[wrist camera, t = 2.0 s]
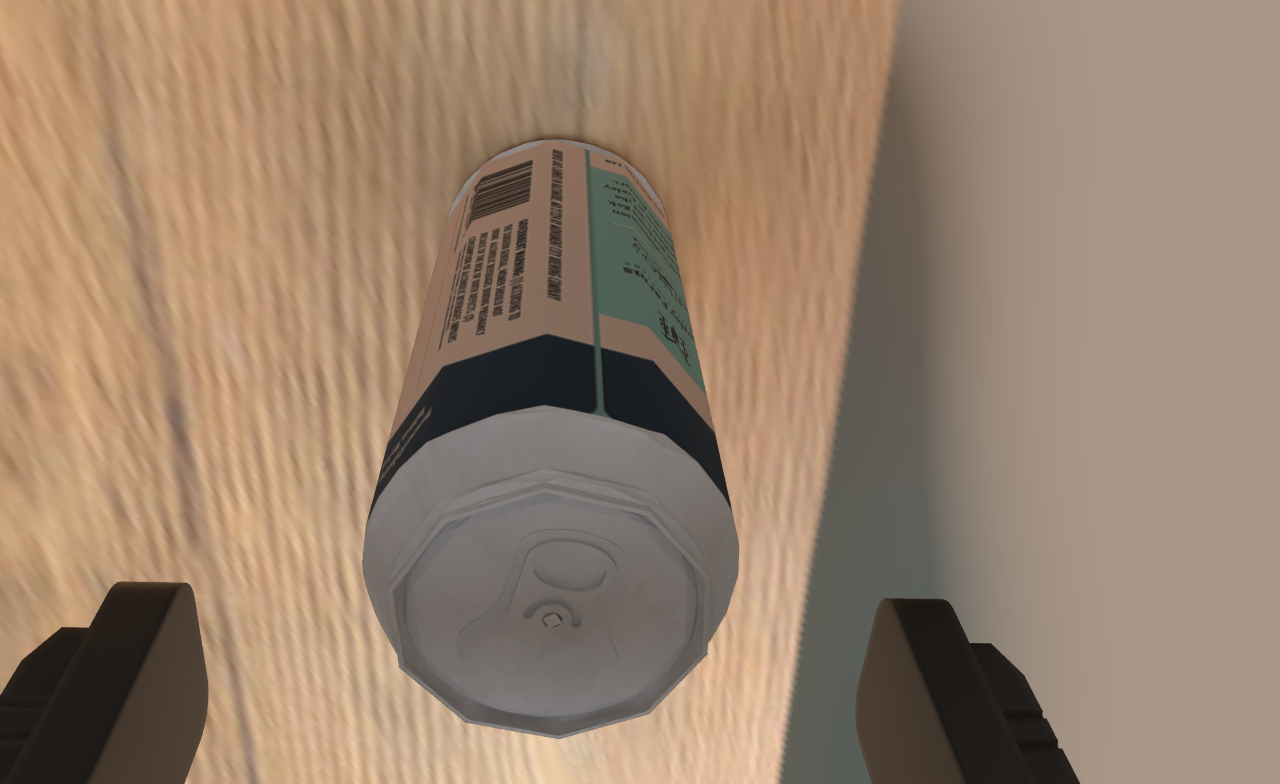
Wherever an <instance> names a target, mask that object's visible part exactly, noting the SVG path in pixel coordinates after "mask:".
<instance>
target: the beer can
mask: <svg viewBox="0 0 1280 784" xmlns="http://www.w3.org/2000/svg"><path fill="white" fill-rule="evenodd" d="M738 564H739V542H738V537H737V532H736V528H735V523H734V518H733V513H732V509H731V504H730V500H729V495H728V490H727V486H726V481H725V477H724V472H723V468H722V463H721V459H720V454H719V450H718V445H717V441H716V436H715V431H714V427H713V422H712V418H711V413H710V409H709V404H708V400H707V395H706V391H705V386H704V382H703V377H702V372H701V368H700V363H699V359H698V354H697V350H696V345H695V341H694V336H693V332H692V327H691V323H690V318H689V313H688V309H687V304H686V300H685V295H684V291H683V286H682V282H681V277H680V273H679V268H678V264H677V259H676V255H675V250H674V245H673V241H672V236H671V232H670V227H669V223H668V218H667V215H666V212H665V210H664V208H663V205H662V203H661V201H660V199H659V198H658V196H657V195H656V193H655V192H654V191H653V189H652V188H651V186H650V185H649V183H648V182H647V180H646V179H645V178H644V177H643V176H642V175H641V174H640V173H639V172H638V171H637V170H636V169H634V168H633V167H632V166H630V165H629V164H628V163H627V162H626V161H625V160H623V159H622V158H620V157H619V156H617V155H615V154H613V153H610V152H608V151H606V150H603V149H601V148H599V147H596V146H594V145H591V144H586V143H581V142H575V141H570V140H540V141H534V142H529V143H525V144H523V145H520V146H518V147H515V148H513V149H510V150H508V151H505V152H503V153H500V154H498V155H496V156H495V157H494V158H492V159H491V160H489V161H488V162H486V163H485V164H483V165H482V166H481V167H480V168H479V169H478V170H477V171H476V172H475V173H474V174H473V175H472V176H471V177H470V178H469V179H468V180H467V181H466V183H465V184H464V186H463V188H462V189H461V191H460V192H459V194H458V196H457V197H456V199H455V201H454V202H453V205H452V208H451V210H450V213H449V216H448V219H447V222H446V226H445V229H444V233H443V237H442V241H441V244H440V248H439V252H438V256H437V260H436V263H435V267H434V271H433V275H432V278H431V282H430V286H429V290H428V294H427V297H426V301H425V305H424V309H423V312H422V316H421V320H420V324H419V328H418V331H417V335H416V339H415V343H414V346H413V350H412V354H411V358H410V362H409V365H408V369H407V373H406V377H405V380H404V384H403V388H402V392H401V396H400V399H399V403H398V407H397V411H396V414H395V418H394V422H393V426H392V430H391V433H390V437H389V441H388V445H387V448H386V452H385V456H384V460H383V464H382V467H381V471H380V475H379V479H378V482H377V486H376V490H375V494H374V498H373V501H372V505H371V509H370V513H369V516H368V520H367V524H366V531H365V541H364V550H363V560H362V565H363V575H364V579H365V583H366V587H367V591H368V594H369V597H370V600H371V603H372V606H373V608H374V611H375V614H376V616H377V618H378V620H379V622H380V624H381V626H382V628H383V630H384V632H385V634H386V635H387V637H388V639H389V641H390V643H391V644H392V646H393V648H394V650H395V651H396V653H397V655H398V662H399V668H400V669H402V670H403V671H404V672H405V673H406V674H408V675H409V676H410V677H411V678H412V679H414V680H415V681H416V682H417V683H418V684H420V685H421V686H422V687H423V688H425V689H426V690H427V691H428V692H429V693H431V694H432V695H433V696H434V697H435V698H437V699H438V700H439V701H440V702H441V703H443V704H444V705H445V706H446V707H448V708H449V709H450V710H451V711H452V712H454V713H455V714H456V715H457V716H458V717H460V718H461V719H462V720H463V721H464V722H466V723H471V724H477V725H482V726H488V727H493V728H499V729H505V730H510V731H516V732H522V733H527V734H533V735H539V736H544V737H550V738H556V739H561V738H565V737H568V736H572V735H576V734H579V733H583V732H586V731H590V730H594V729H597V728H601V727H604V726H608V725H611V724H615V723H619V722H622V721H626V720H629V719H633V718H637V717H640V716H644V715H647V714H650V713H651V712H652V710H653V709H654V708H655V707H656V706H657V705H658V704H659V703H660V702H661V701H662V700H663V699H664V698H665V697H666V696H667V695H668V694H669V693H670V692H671V691H672V690H673V689H674V688H675V687H676V686H677V685H678V684H679V683H680V682H681V681H682V680H683V679H684V678H685V677H686V676H687V675H688V674H689V672H690V671H691V670H692V669H693V668H694V667H695V666H696V665H697V664H698V663H699V662H700V661H701V660H702V659H703V658H704V657H705V656H706V655H707V648H708V643H709V641H710V640H711V638H712V637H713V635H714V633H715V631H716V630H717V628H718V626H719V625H720V623H721V621H722V619H723V618H724V616H725V614H726V612H727V609H728V606H729V603H730V600H731V596H732V593H733V590H734V586H735V583H736V580H737V577H738Z"/></svg>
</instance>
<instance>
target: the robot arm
mask: <svg viewBox="0 0 1280 784" xmlns="http://www.w3.org/2000/svg"><path fill="white" fill-rule="evenodd" d="M207 708H208V679H207V672H206V666H205V660H204V653H203V647H202V641H201V635H200V628H199V622H198V616H197V610H196V603H195V598H194V593H193V590H192V588H191V586H190V585H189V584H188V583H171V582H117V583H116V584H114V585H113V587H112V588H111V589H110V591H109V592H108V594H107V596H106V598H105V599H104V601H103V603H102V605H101V607H100V609H99V610H98V612H97V614H96V616H95V618H94V619H93V621H92V623H91V625H90V627H89V628H78V627H61V628H60V629H59V630H58V631H57V632H55V633H54V634H53V635H52V636H51V637H49V638H48V639H47V640H46V641H45V642H43V643H42V644H41V645H40V646H39V647H37V648H36V649H35V650H34V651H33V652H31V653H30V654H29V655H28V656H27V657H25V658H24V659H23V660H22V661H21V662H20V664H19V666H18V667H17V669H16V671H15V672H14V674H13V676H12V677H11V679H10V680H9V682H8V684H7V685H6V687H5V689H4V690H3V692H2V694H1V695H0V784H184V783H185V781H186V778H187V775H188V773H189V770H190V767H191V764H192V762H193V759H194V756H195V754H196V751H197V748H198V746H199V743H200V740H201V737H202V734H203V730H204V726H205V721H206V715H207ZM1042 712H1043V711H1042V709H1041V707H1040V705H1039V703H1038V701H1037V699H1036V698H1035V696H1034V694H1033V692H1032V690H1031V688H1030V686H1029V684H1028V682H1027V680H1026V678H1025V676H1024V675H1023V674H1022V673H1021V672H1020V671H1019V670H1018V669H1017V668H1016V667H1015V666H1014V665H1013V664H1012V663H1011V662H1010V661H1009V660H1008V659H1007V658H1005V656H1003V655H1002V654H1001V653H1000V652H999V651H998V650H997V649H996V648H995V647H994V646H993V645H992V644H991V643H990V644H989V643H969V641H968V639H967V637H966V635H965V633H964V630H963V628H962V626H961V624H960V622H959V620H958V618H957V616H956V614H955V611H954V609H953V608H952V606H951V605H950V603H949V602H948V601H946V600H943V599H900V598H885V599H883V600H882V601H881V602H880V604H879V606H878V608H877V612H876V615H875V619H874V623H873V627H872V631H871V635H870V639H869V644H868V648H867V652H866V656H865V660H864V664H863V668H862V672H861V677H860V680H859V685H858V689H857V695H856V727H857V734H858V739H859V743H860V747H861V750H862V753H863V757H864V760H865V763H866V766H867V770H868V773H869V776H870V779H871V782H872V784H1080V782H1079V781H1078V778H1077V777H1076V775H1075V773H1074V771H1073V769H1072V767H1071V765H1070V763H1069V761H1068V759H1067V757H1066V755H1065V753H1064V751H1063V750H1062V749H1059V748H1058V740H1057V738H1056V736H1055V734H1054V732H1053V731H1052V728H1051V726H1050V725H1049V723H1048V721H1047V719H1044V718H1043V716H1042Z"/></svg>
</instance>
